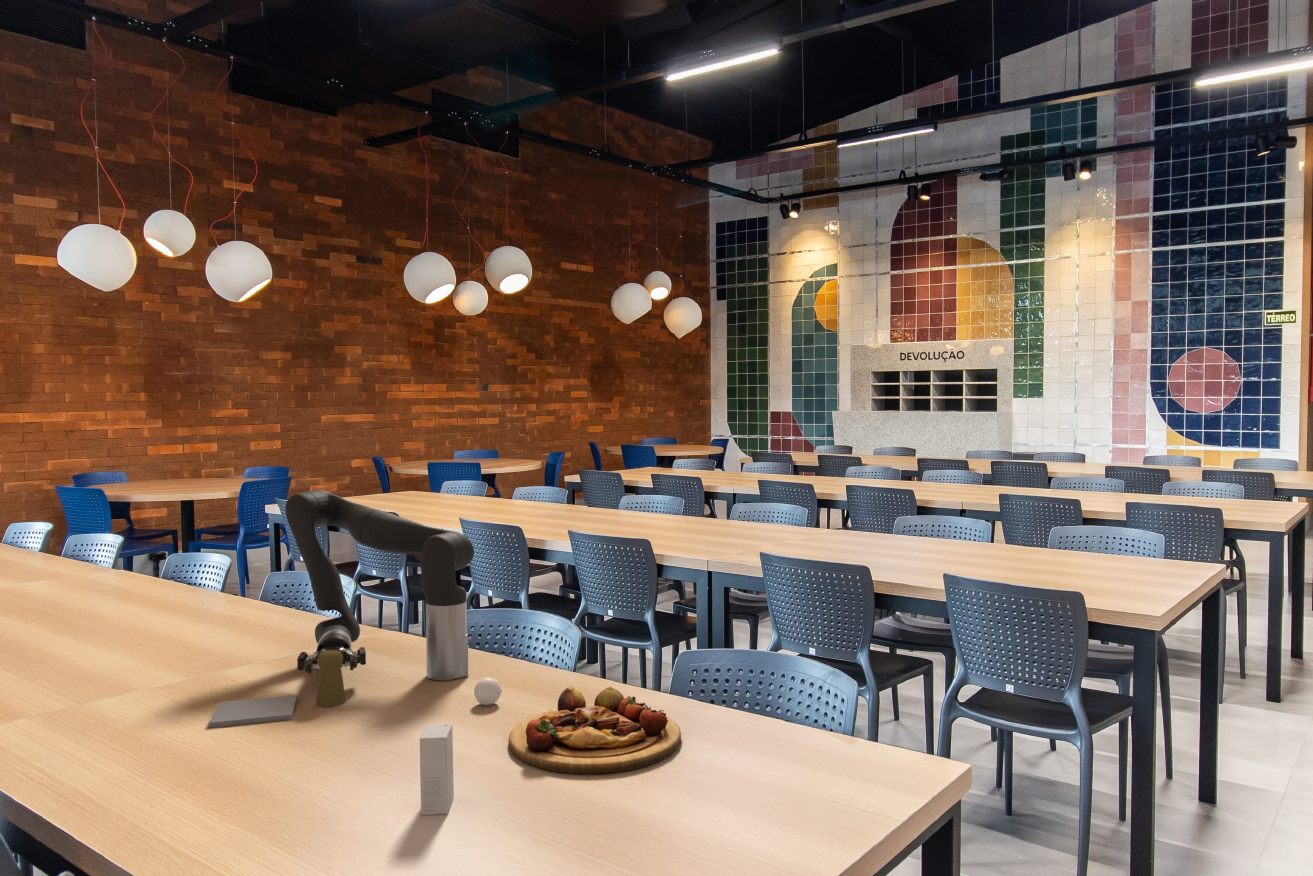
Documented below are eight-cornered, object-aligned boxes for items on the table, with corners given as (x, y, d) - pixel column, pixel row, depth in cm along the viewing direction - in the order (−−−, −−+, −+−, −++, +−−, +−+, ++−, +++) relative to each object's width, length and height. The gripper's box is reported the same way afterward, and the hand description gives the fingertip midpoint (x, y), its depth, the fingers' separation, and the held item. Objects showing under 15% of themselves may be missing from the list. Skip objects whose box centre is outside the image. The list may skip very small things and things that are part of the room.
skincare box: (426, 798, 140) (425, 724, 139) (454, 797, 140) (453, 723, 140) (419, 816, 134) (418, 738, 133) (448, 815, 134) (447, 737, 134)
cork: (335, 708, 183) (335, 655, 183) (309, 706, 184) (308, 654, 184) (351, 698, 189) (350, 648, 189) (326, 697, 190) (325, 646, 190)
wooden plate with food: (544, 793, 143) (543, 742, 142) (487, 730, 171) (486, 688, 171) (713, 756, 157) (713, 711, 157) (634, 704, 186) (634, 665, 185)
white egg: (495, 710, 182) (495, 683, 181) (469, 708, 183) (469, 681, 183) (509, 698, 189) (508, 672, 189) (484, 696, 190) (483, 670, 190)
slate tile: (297, 699, 189) (297, 694, 189) (291, 719, 176) (291, 714, 176) (219, 706, 184) (219, 702, 184) (208, 727, 172) (208, 722, 172)
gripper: (301, 634, 203) (295, 653, 187) (366, 630, 207) (365, 647, 191) (301, 667, 203) (295, 688, 187) (366, 661, 207) (365, 681, 192)
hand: (330, 667), depth 189 cm, fingers open, 8 cm apart
